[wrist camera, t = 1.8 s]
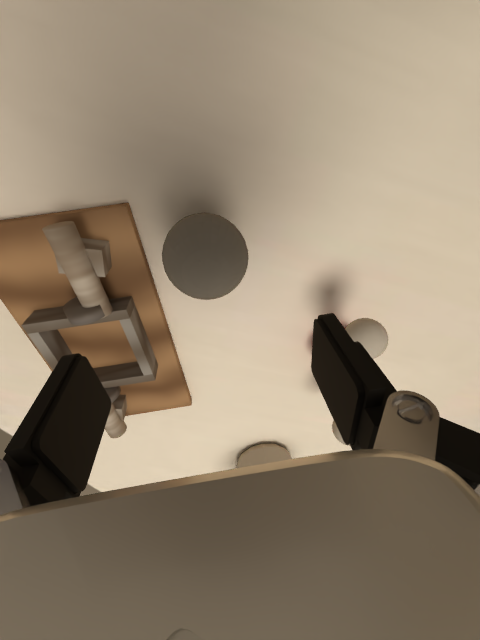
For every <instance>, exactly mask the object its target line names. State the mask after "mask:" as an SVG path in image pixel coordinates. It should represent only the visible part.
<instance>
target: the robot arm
mask: <svg viewBox="0 0 480 640" xmlns="http://www.w3.org/2000/svg"><path fill="white" fill-rule="evenodd" d="M311 368H312V373H313V375H314V378H315V380H316V382H317V384H318V386H319V389H320V391H321V393H322V395H323V397H324V399H325V402H326V404H327V406H328V408H329V410H330V413H331V415H332V417H333V419H334V421H335V423H336V426H337V428H338V430H339V432H340V434H341V437H342V439H343V441H344V443H345V444H346V445H350V446H351V448H352V450H351V451H341V452H334V453H328V454H321V455H315V456H308V457H301V458H295V459H289V460H283V461H278V462H272V463H266V464H260V465H254V466H248V467H242V468H236V469H230V470H225V471H219V472H213V473H208V474H202V475H196V476H190V477H185V478H179V479H173V480H168V481H162V482H156V483H151V484H145V485H140V486H134V487H128V488H123V489H117V490H112V491H106V492H101V493H95V494H90V495H84V496H80V493H81V491H83V490H84V489H85V488H86V485H87V482H88V479H89V476H90V473H91V470H92V466H93V463H94V460H95V457H96V454H97V451H98V448H99V444H100V441H101V438H102V435H103V432H104V429H105V426H106V422H107V419H108V416H109V413H110V410H111V399H110V397H109V395H108V394H107V392H106V390H105V389H104V387H103V385H102V383H101V382H100V380H99V378H98V376H97V375H96V373H95V371H94V369H93V368H92V366H91V364H90V362H89V361H88V359H87V358H86V357H85V356H82V355H81V354H79V353H77V354H70V355H64V356H62V357H61V358H60V360H59V362H58V363H57V365H56V367H55V368H54V370H53V372H52V373H51V375H50V377H49V378H48V380H47V382H46V383H45V385H44V387H43V388H42V390H41V391H40V393H39V395H38V396H37V398H36V400H35V401H34V403H33V405H32V406H31V408H30V410H29V411H28V413H27V415H26V416H25V418H24V420H23V421H22V423H21V424H20V426H19V428H18V429H17V431H16V433H15V434H14V436H13V438H12V439H11V441H10V443H9V444H8V446H7V448H6V449H5V453H6V455H5V456H4V458H3V460H2V459H0V640H480V433H477V432H475V431H473V430H470V429H468V428H465V427H463V426H460V425H458V424H455V423H453V422H451V421H448V420H446V419H443V418H441V417H439V412H438V410H437V408H436V406H435V405H434V404H433V403H432V402H431V401H430V400H429V399H427V398H426V397H424V396H422V395H420V394H418V393H415V392H411V391H396V389H395V388H394V387H393V385H392V384H391V383H390V381H389V380H388V379H387V377H386V376H385V375H384V373H383V372H382V371H381V369H380V368H379V367H378V365H377V364H376V363H375V361H374V360H373V359H372V357H371V356H370V355H369V353H368V352H367V351H366V349H365V348H364V347H363V345H362V344H361V343H360V342H358V341H356V342H354V341H353V340H352V338H351V337H350V335H349V334H348V333H347V331H346V330H345V328H344V327H343V326H342V324H341V323H340V322H339V320H338V319H337V317H336V316H335V315H334V314H333V313H331V314H324V315H319V316H318V319H315V320H314V328H313V345H312V363H311Z"/></svg>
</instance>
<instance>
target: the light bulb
mask: <svg viewBox="0 0 480 640" xmlns="http://www.w3.org/2000/svg"><path fill="white" fill-rule="evenodd" d="M162 261H163V265H164V269H165V272H166V274H167V276H168V278H169V279H170V281H171V282H172V283H173V284H174V286H175V287H176V288H178V289H179V290H180V291H181V292H183V293H185V294H186V295H188V296H191V297H193V298H197V299H205V300H209V299H216V298H219V297H222V296H224V295H226V294H228V293H230V292H231V291H232V290H233V289H235V288H236V287H237V285H238V284H239V283H240V282H241V280H242V278H243V277H244V275H245V272H246V269H247V265H248V250H247V246H246V243H245V240H244V238H243V236H242V234H241V233H240V231H239V230H238V229H237V228H236V227H235V226H234V225H233V224H232V223H231V222H230V221H228V220H227V219H225V218H223V217H221V216H218V215H215V214H211V213H199V214H193V215H190V216H187V217H185V218H184V219H182V220H180V221H179V222H178V223H177V224H176V225H175V226H173V228H172V229H171V230H170V232H169V233H168V235H167V237H166V239H165V242H164V245H163V251H162Z"/></svg>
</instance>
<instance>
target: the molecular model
mask: <svg viewBox="0 0 480 640" xmlns="http://www.w3.org/2000/svg"><path fill="white" fill-rule="evenodd" d="M345 330H346V331H347V333H348V334H349V335H350V337H351V338H352V340H353V341H354V342H356V341H358V342H360V343H361V344H362V345H363V347H364V348H365V349H366V351H367V352H368V353H369V355H370V356H371V357H372V359H374V358H376V357H378V356H380V355H381V354H382V353H383V352H384V351H385V349H386V347H387V344H388V335H387V332H386V330H385V328H384V327H383V326H382V325H381V324H380V323H379V322H377V321H375V320H373V319H369V318H361V319H357V320H354V321H353V322H351V323H350V324H349V325H348V326H347V327H346V328H345ZM332 429H333V433H334V435H335V437H336V438H337V439H338V440H339V441H340V442H341V443H343V444H345V443H344V441H343V439H342V437H341V434H340V432H339V430H338V428H337V426H336V423H335V421H333V425H332ZM345 445H346V444H345ZM349 446H350V445H349Z"/></svg>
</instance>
